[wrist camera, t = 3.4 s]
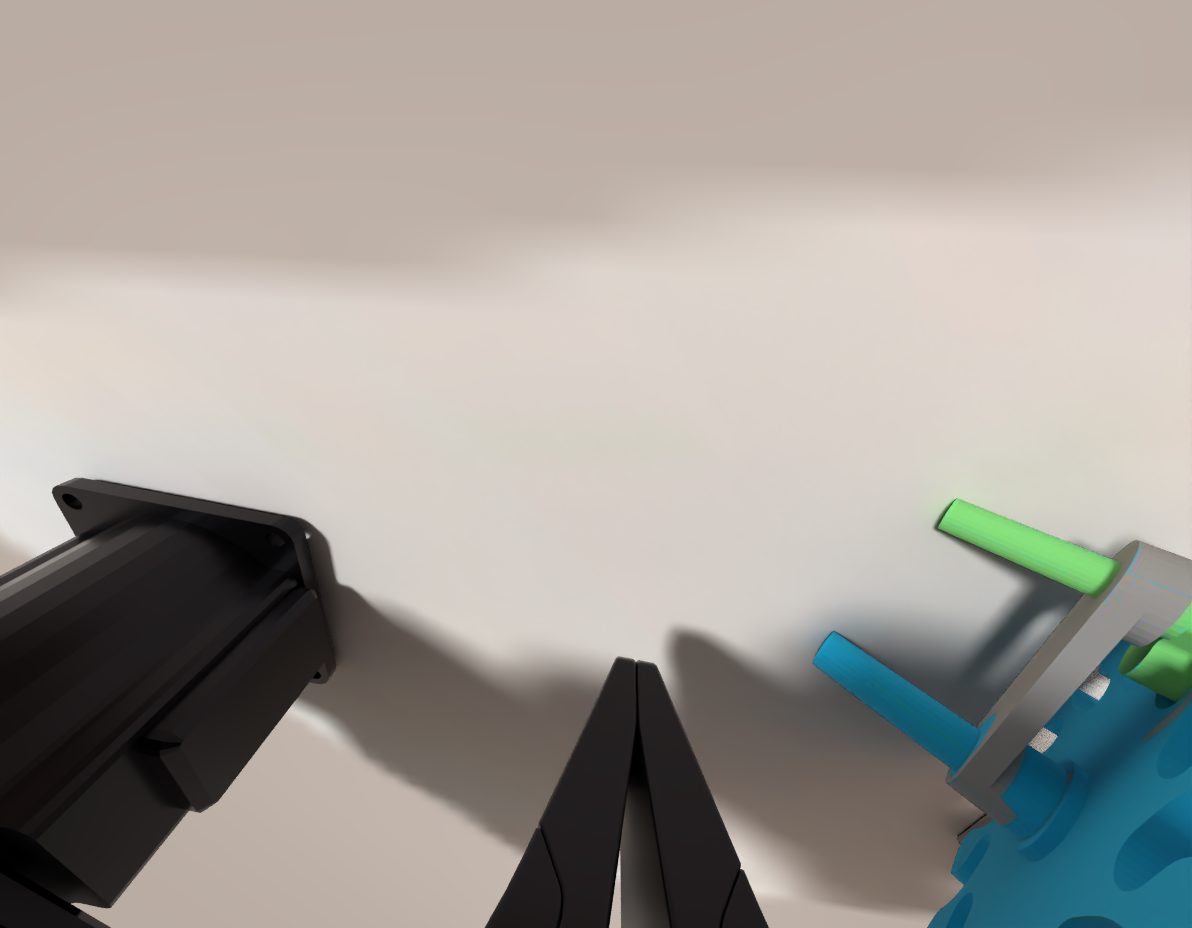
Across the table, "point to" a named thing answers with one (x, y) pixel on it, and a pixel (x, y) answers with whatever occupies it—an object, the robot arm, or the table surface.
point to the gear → (1067, 745)
